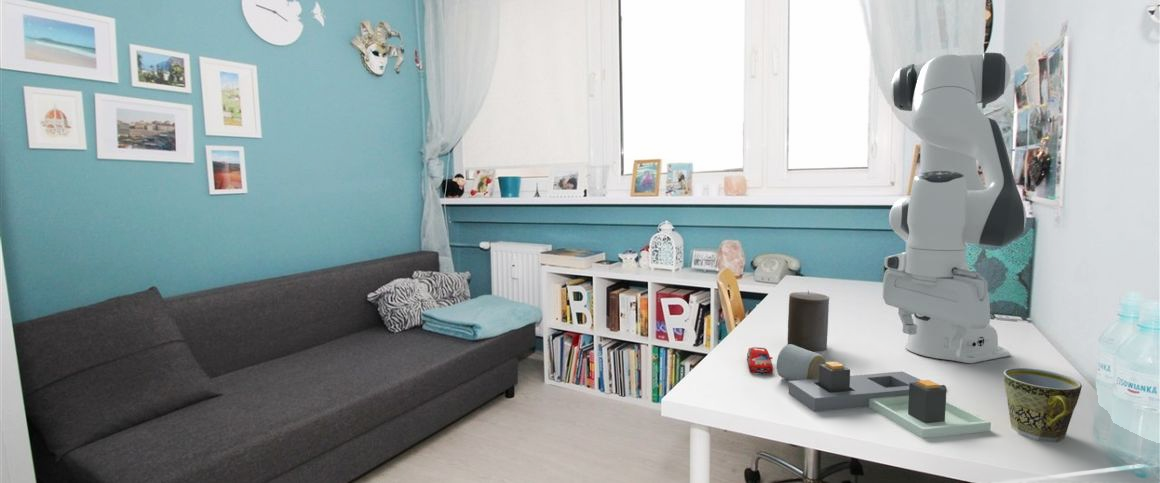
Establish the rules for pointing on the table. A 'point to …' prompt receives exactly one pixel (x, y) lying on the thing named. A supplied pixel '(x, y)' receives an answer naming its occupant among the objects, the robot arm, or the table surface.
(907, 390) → the power strip
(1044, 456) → the table surface
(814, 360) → the ceramic mug
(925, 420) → the plug
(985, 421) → the tray
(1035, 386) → the ceramic cup
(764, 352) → the race car
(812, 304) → the pillar candle
